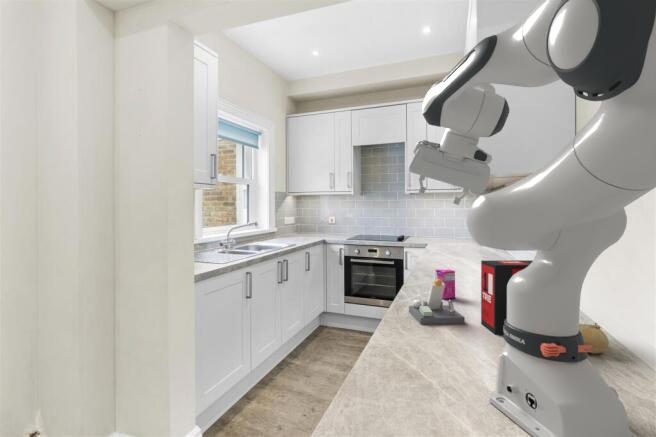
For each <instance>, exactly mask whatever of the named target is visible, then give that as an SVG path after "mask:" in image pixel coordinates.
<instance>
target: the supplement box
mask: <svg viewBox="0 0 656 437" xmlns="http://www.w3.org/2000/svg"><path fill="white" fill-rule="evenodd" d="M436 279H440V280H441V281H442V282H444V284H445V287H444V292H443V296H442V300H444V301H447V299H448V300H456V271H455V270H453V269H449V268H437V269H434V281H435V280H436Z"/></svg>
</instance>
